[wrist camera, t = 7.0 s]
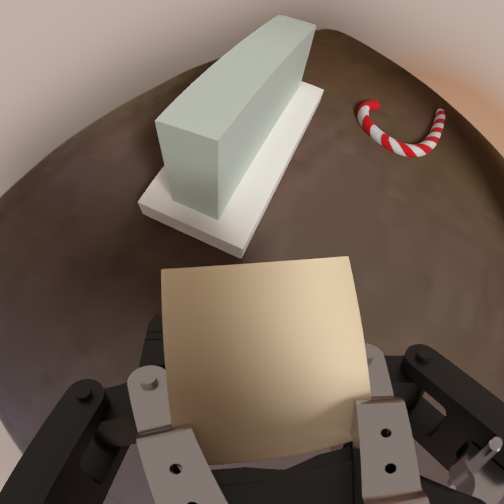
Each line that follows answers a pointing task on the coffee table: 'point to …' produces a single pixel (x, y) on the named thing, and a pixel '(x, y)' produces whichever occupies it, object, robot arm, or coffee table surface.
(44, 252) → the coffee table surface
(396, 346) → the coffee table surface
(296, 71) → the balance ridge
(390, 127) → the coffee table surface
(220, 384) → the pine block
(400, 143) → the candy cane
